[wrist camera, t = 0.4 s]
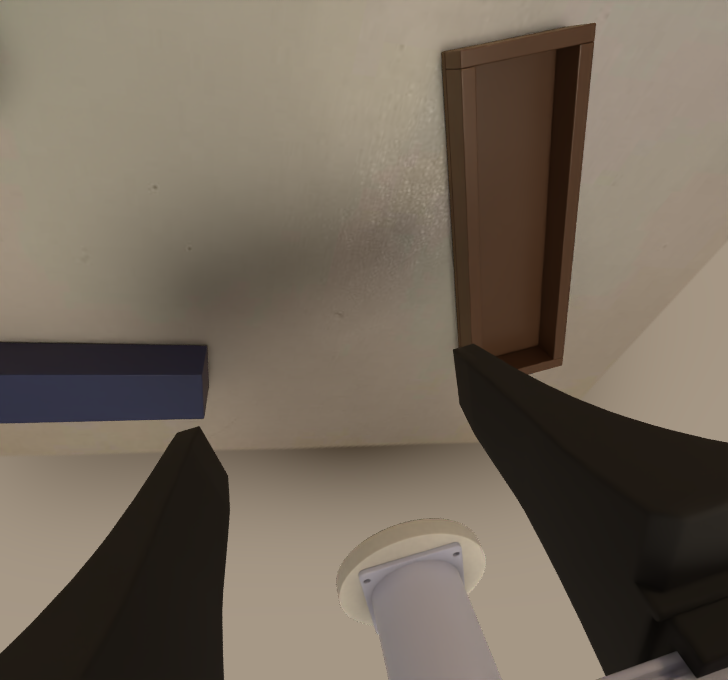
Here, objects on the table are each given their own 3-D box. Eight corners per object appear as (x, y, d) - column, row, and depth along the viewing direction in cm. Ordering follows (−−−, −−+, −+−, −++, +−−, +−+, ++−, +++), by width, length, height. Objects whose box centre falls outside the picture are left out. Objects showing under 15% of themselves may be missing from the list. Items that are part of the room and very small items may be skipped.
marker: (207, 345, 22) (202, 374, 20) (208, 386, 24) (204, 419, 21) (-94, 340, 19) (-139, 375, 17) (-74, 388, 21) (-113, 426, 18)
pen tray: (543, 347, 27) (562, 365, 25) (459, 369, 27) (473, 389, 25) (565, 26, 18) (596, 22, 17) (440, 51, 18) (460, 50, 16)
